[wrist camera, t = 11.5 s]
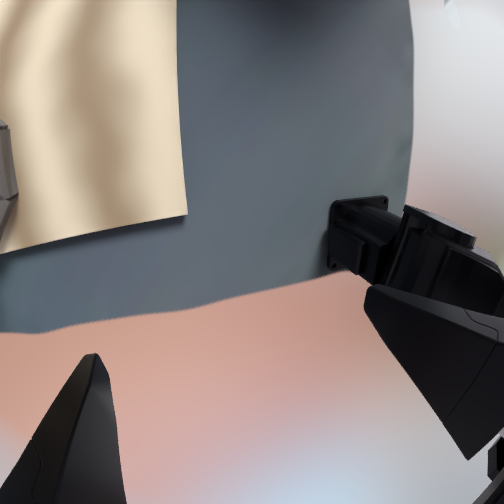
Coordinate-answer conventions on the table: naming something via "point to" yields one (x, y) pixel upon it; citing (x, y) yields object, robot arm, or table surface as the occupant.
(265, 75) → the table surface
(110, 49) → the board
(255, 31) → the table surface
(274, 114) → the table surface
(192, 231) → the table surface
